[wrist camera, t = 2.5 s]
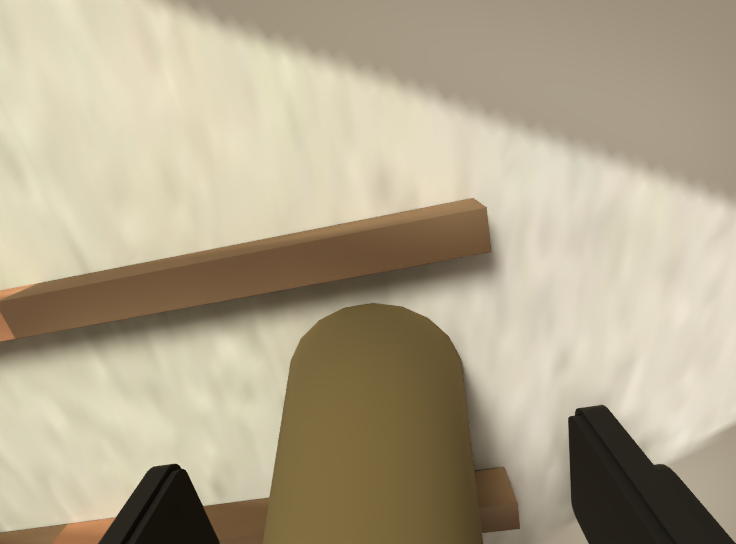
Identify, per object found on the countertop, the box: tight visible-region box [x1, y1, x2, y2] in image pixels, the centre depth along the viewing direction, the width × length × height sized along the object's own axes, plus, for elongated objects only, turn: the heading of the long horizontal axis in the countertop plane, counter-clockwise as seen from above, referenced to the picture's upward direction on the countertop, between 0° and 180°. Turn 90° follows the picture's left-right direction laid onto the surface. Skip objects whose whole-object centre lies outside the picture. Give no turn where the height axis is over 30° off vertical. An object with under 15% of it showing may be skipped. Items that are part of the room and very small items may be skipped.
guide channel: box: [0, 198, 520, 544], centre depth 13 cm, size 11×24×2 cm, turn 102°
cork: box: [262, 303, 483, 544], centre depth 8 cm, size 6×6×11 cm
